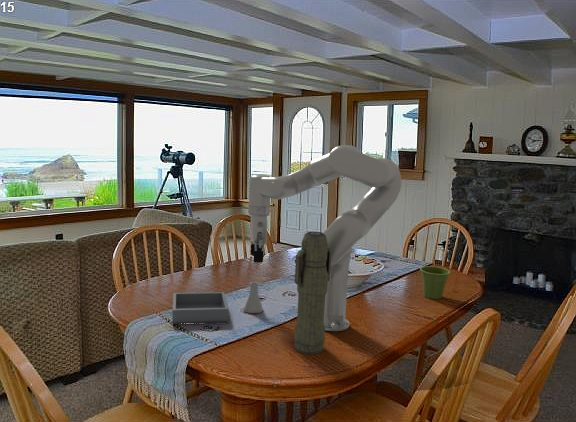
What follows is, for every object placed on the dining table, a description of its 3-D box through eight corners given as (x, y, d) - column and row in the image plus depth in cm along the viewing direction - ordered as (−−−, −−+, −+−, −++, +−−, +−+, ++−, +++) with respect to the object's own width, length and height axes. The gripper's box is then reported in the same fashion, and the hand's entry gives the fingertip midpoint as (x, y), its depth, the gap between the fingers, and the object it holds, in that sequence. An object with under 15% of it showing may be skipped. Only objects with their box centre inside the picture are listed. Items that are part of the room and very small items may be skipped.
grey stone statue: (283, 347, 155) (289, 232, 150) (312, 338, 163) (318, 228, 158) (304, 358, 148) (310, 237, 143) (333, 348, 156) (340, 233, 151)
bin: (228, 323, 172) (228, 308, 172) (172, 325, 169) (172, 310, 168) (223, 305, 190) (224, 292, 189) (173, 306, 186) (173, 292, 185)
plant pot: (412, 296, 212) (414, 269, 210) (426, 290, 220) (428, 264, 219) (439, 303, 204) (441, 275, 202) (452, 297, 212) (455, 270, 211)
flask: (260, 315, 182) (261, 287, 180) (240, 312, 183) (241, 285, 182) (265, 308, 189) (266, 281, 187) (246, 306, 190) (247, 279, 189)
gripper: (273, 215, 173) (270, 265, 176) (266, 207, 190) (263, 252, 193) (251, 214, 172) (248, 264, 175) (245, 206, 189) (243, 252, 191)
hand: (256, 258), depth 184 cm, fingers open, 9 cm apart
